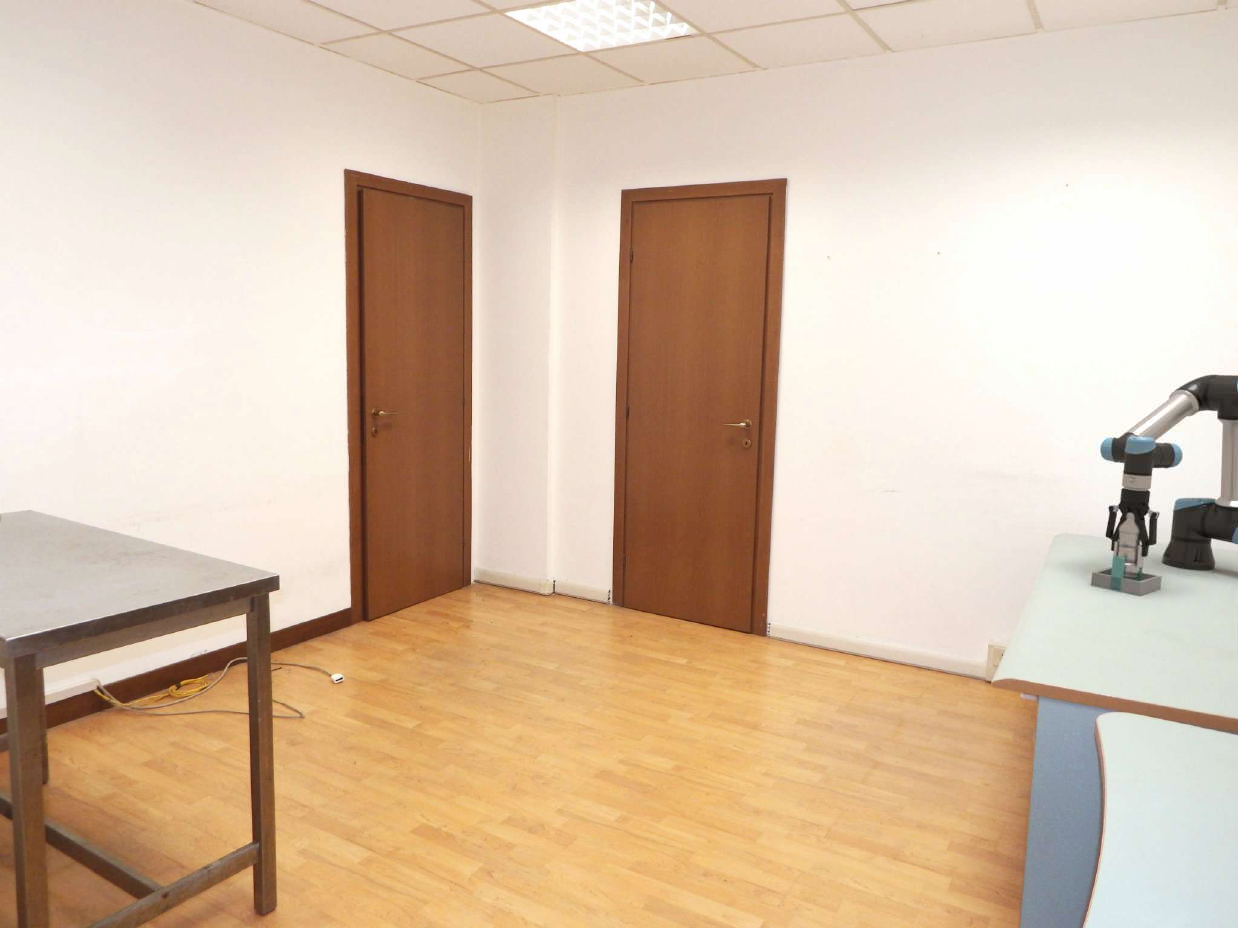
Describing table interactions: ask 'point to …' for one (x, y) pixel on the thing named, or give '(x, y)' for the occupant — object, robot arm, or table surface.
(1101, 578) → the tray
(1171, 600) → the table surface
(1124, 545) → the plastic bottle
